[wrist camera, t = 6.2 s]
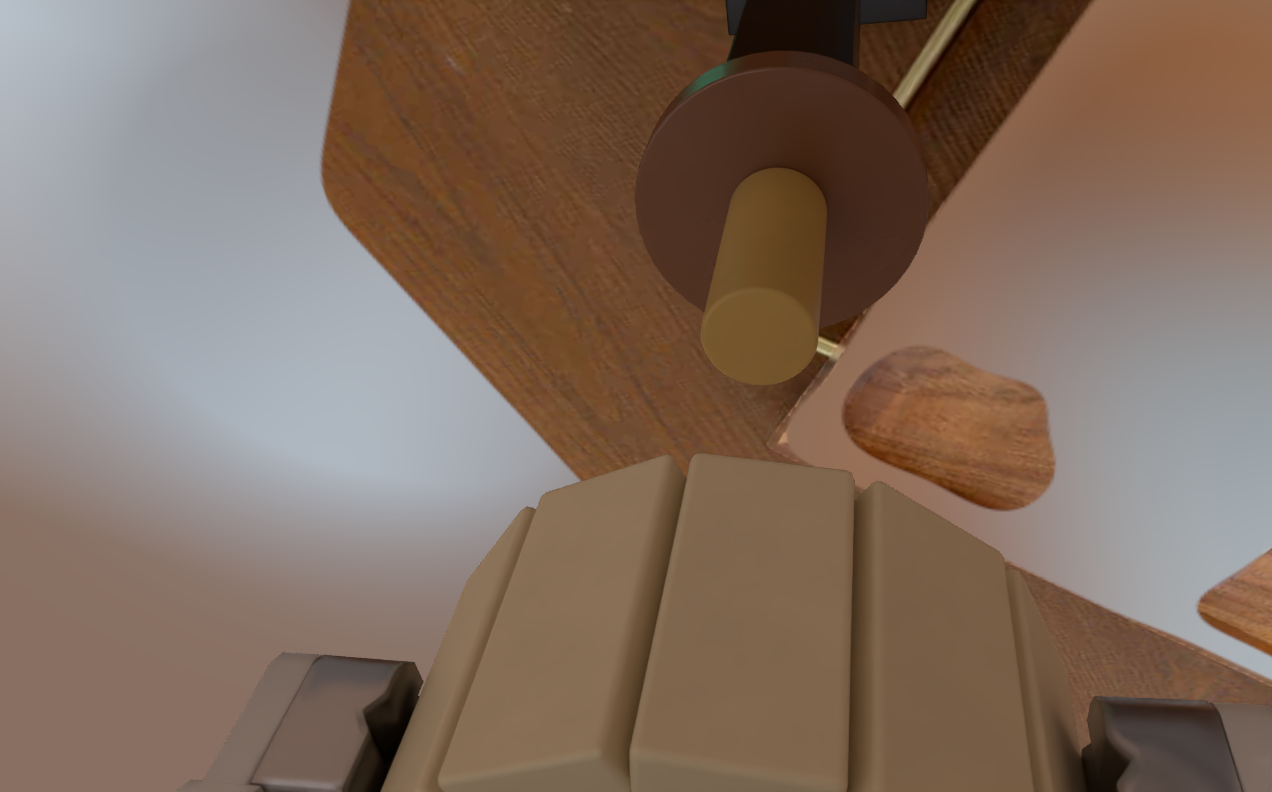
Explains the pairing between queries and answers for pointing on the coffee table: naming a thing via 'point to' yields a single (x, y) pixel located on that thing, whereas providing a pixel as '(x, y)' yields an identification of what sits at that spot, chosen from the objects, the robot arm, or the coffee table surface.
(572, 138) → the coffee table surface
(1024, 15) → the coffee table surface
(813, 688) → the tan segmented ring
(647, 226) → the stand
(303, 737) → the robot arm
